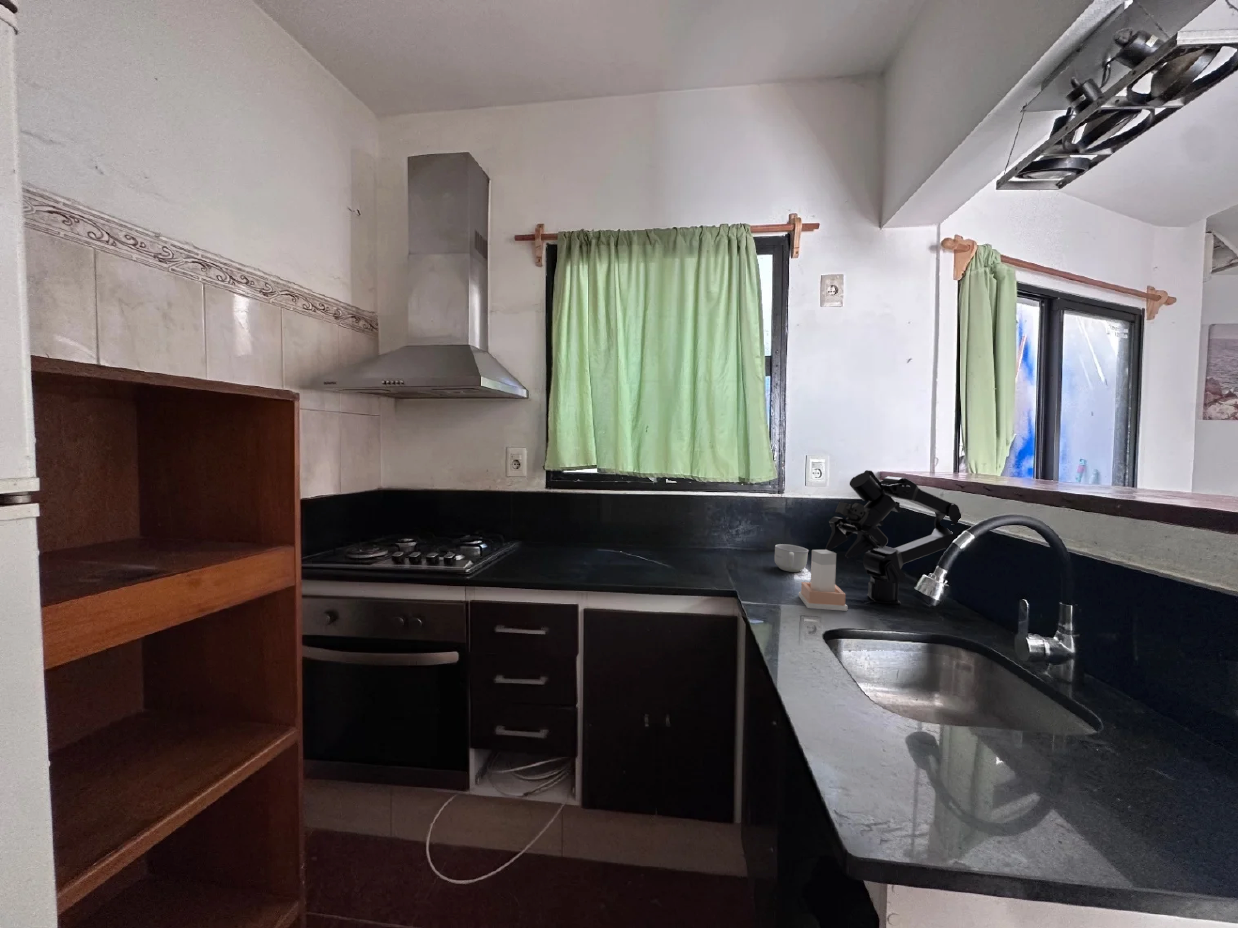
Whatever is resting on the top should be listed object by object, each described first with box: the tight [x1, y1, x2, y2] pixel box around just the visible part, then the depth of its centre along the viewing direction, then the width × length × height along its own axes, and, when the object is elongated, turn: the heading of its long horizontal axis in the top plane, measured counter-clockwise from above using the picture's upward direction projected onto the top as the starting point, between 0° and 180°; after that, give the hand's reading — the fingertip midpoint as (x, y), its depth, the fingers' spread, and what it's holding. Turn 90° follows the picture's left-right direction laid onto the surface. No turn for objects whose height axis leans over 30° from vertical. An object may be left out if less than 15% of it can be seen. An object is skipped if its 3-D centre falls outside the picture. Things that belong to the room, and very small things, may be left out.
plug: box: [810, 549, 837, 592], centre depth 127 cm, size 4×4×13 cm
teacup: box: [774, 543, 809, 573], centre depth 159 cm, size 14×11×8 cm
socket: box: [798, 581, 849, 612], centre depth 127 cm, size 10×10×4 cm
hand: (836, 553), depth 128 cm, fingers open, 9 cm apart
